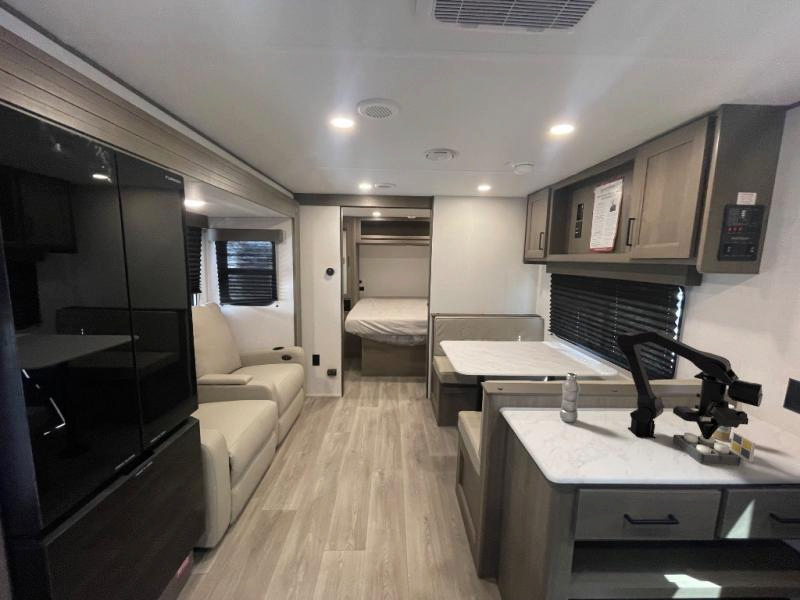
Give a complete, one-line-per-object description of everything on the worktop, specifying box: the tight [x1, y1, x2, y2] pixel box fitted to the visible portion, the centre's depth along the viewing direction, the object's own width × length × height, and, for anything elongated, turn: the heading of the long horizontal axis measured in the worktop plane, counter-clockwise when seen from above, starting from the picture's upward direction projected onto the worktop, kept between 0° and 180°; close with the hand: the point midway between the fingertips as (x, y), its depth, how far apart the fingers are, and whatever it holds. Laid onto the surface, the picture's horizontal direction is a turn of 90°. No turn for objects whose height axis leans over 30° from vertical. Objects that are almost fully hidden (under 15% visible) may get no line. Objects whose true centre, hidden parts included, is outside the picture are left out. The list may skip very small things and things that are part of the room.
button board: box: [672, 434, 742, 467], centre depth 107 cm, size 12×12×3 cm
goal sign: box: [729, 431, 757, 464], centre depth 105 cm, size 1×7×7 cm, turn 174°
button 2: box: [696, 445, 711, 453], centre depth 104 cm, size 4×4×2 cm
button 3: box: [699, 433, 716, 445], centre depth 109 cm, size 4×4×2 cm
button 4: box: [713, 441, 731, 455], centre depth 103 cm, size 4×4×2 cm
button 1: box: [683, 432, 699, 444], centre depth 109 cm, size 4×4×2 cm
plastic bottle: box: [559, 372, 581, 423], centre depth 127 cm, size 6×7×20 cm
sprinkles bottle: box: [712, 403, 736, 442], centre depth 115 cm, size 5×5×14 cm
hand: (706, 438), depth 103 cm, fingers closed
